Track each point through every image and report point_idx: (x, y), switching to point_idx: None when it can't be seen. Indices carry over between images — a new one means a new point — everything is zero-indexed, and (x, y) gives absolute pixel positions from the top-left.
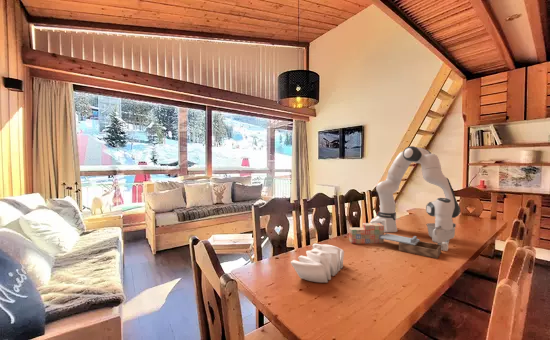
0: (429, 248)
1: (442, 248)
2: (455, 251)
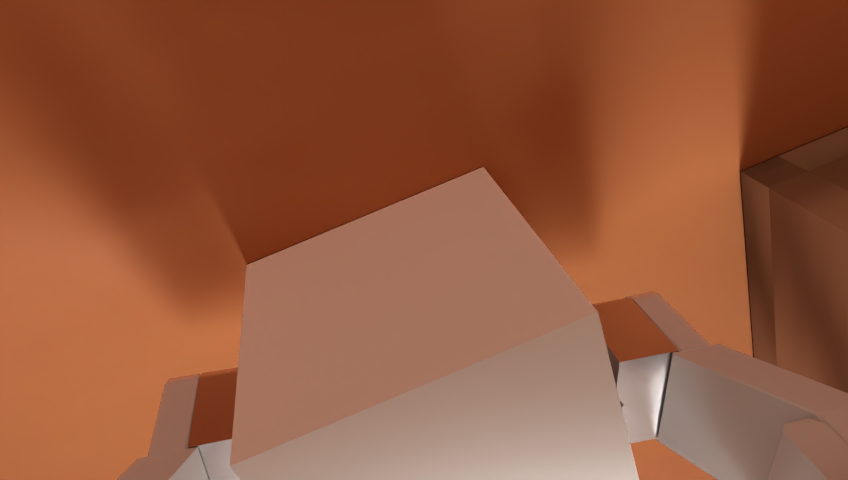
0: None
1: None
2: (125, 73)
